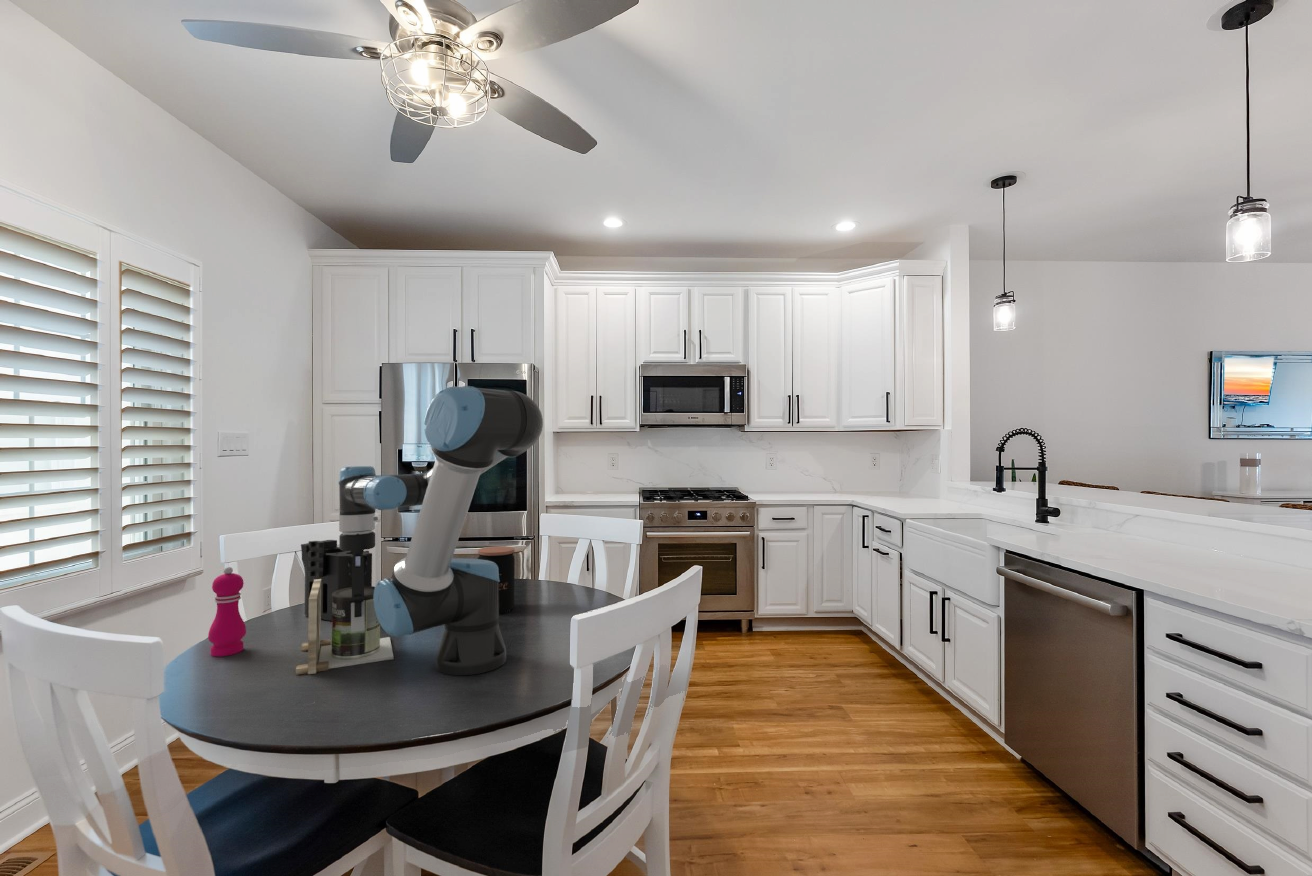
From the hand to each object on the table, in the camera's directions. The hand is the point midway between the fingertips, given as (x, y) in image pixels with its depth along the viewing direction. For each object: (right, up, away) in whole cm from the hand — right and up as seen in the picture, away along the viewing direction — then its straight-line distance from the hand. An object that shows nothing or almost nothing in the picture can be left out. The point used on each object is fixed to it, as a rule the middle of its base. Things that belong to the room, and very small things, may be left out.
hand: (357, 623), depth 137 cm
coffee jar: (+22, -8, +37) cm, 44 cm away
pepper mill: (-31, -7, +1) cm, 32 cm away
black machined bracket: (-21, -8, +29) cm, 37 cm away
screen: (-8, -7, -3) cm, 11 cm away
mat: (0, -7, 0) cm, 7 cm away
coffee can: (0, -7, 0) cm, 7 cm away
